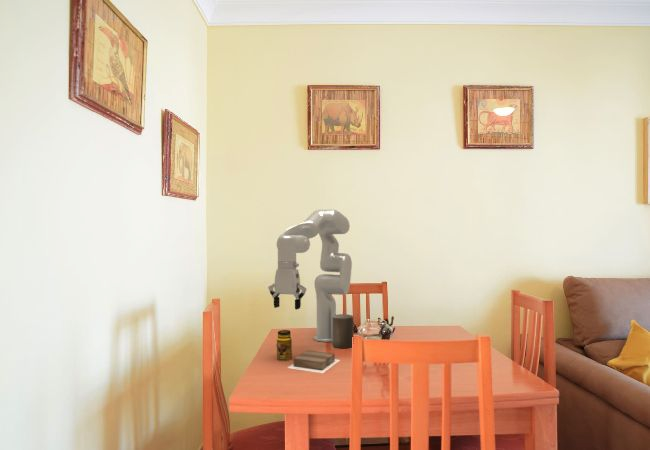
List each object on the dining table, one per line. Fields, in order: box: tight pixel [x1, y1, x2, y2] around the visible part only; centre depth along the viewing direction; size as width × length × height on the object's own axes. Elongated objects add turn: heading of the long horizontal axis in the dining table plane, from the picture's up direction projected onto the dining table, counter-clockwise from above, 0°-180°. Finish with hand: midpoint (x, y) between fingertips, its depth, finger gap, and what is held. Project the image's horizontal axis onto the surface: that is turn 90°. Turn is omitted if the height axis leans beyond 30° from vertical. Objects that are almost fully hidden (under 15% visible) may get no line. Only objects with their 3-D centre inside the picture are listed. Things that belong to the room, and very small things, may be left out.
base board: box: [287, 358, 341, 374], centre depth 159 cm, size 17×15×1 cm
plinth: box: [293, 349, 336, 370], centre depth 160 cm, size 12×12×3 cm
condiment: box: [276, 329, 293, 362], centre depth 168 cm, size 7×8×12 cm
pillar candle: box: [332, 313, 354, 349], centre depth 188 cm, size 10×10×15 cm
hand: (287, 308), depth 166 cm, fingers open, 9 cm apart
